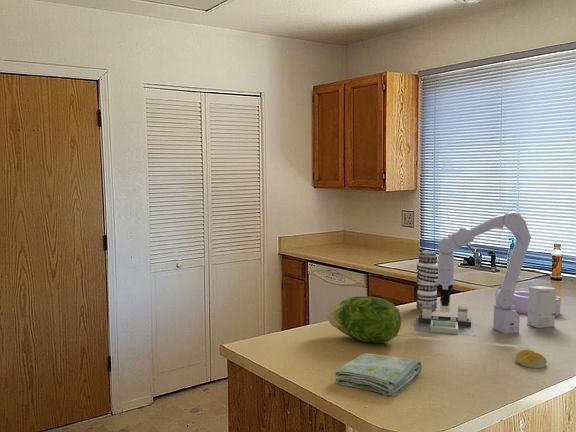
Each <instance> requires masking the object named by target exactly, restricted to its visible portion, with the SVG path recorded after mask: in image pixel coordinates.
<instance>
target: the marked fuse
mask: <svg viewBox="0 0 576 432" xmlns="http://www.w3.org/2000/svg"><path fill="white" fill-rule="evenodd" d="M439 297H440V298H439V299H440V300H439V302H440V305H439V312H441V313H450V304H451V302H450V301H451V298H450V299H449V304H448V306H442V303H441V296H439Z"/></svg>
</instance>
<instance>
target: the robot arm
mask: <svg viewBox="0 0 576 432" xmlns="http://www.w3.org/2000/svg"><path fill="white" fill-rule="evenodd" d="M504 226H505V228H507V230H509V231H510V232H511V233H512V235H513V236H514V238H515V242H514V245H513V248H512V251H511V253H510V254H511V255H510V258H509V260H508V264H507V267H506V269H505V273H504V275H503V276H504V277H503V279H502V281H501V284H500V287H498V288H497V290H496V291H495V303H494V304H493V323H492V324H493V325H492V329H494V330H496V331H499V332H501V333H502V334H516V333H517V334H518V333H519V334H520V321H521V319H520V318H521V317H520V314H519V312H516V311H515V305H513V304H514V292H515V291H516V285H517V282H518V279H519V276H520V273H521V270H522V267H523V264H524V261H525V258H526V254H527V251H528V249H529V246H530V243H531V239H532V236H531V233H530V231H529V228H528V226H527V222H526V220H525V219H524V218H523V217H522V215H521V214H520V213H519V212H517V211H514V210H509V211H507V212H506V213H502V214H499V215H496V216H494V217H491V218H489V219H487V220H486V221H483V222H482V223H480V224H478V225H476V226H474V227H472V228H468V227H464V228H463V227H461V228H459V229H458V231H456V232H453V233H452V234H450V233H449V234H448V235H447V237H445V236H444V238H441V239H440V240H439V242H438V244H437V247H438V248H437V249H438V250H439V251H438V256H437V268H438V271H437V272H438V274H437V277H438V279H436V280H435V282H437V291H438V293H439V295H440V296H441V303H442V306H448V304H449V299H450V300H451V294H452V292H453V291H454V285H453V284H454V283H455V280H454V273H455V271H454V269H455V268H454V267H455V264H454V263H455V258H454V250H455V249H457V250H458V249H461V248H462V247H465V246H466V245H468V244H471V243H473V242H474V241H475V237H478V236H479V235H482V234H484V233H486V232H488V231H489V232H490V231H491V230H493V229H504ZM440 296H439V297H440Z"/></svg>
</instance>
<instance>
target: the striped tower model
mask: <svg viewBox="0 0 576 432" xmlns="http://www.w3.org/2000/svg"><path fill="white" fill-rule="evenodd" d="M417 255H418V263H417V264H416V270H417V271H416V274H417V275H416V278H417V280H416V283H417V293H416V296H417V297H416V302H415V303H416V306H415V307H416V308H417V309H418V310H420V311H422V308H423V304H425V305H432V312H433V311H437V310H438V302H437V301H438V298H437V297H438V294H437V293H438V292H437V291H438V289H437V286H438V283H437V282H435V280H438V255H437V253H436V252H435V251H432V250H431V251H430V250H423V251H421V252H420V253H419V254H417Z"/></svg>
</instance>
